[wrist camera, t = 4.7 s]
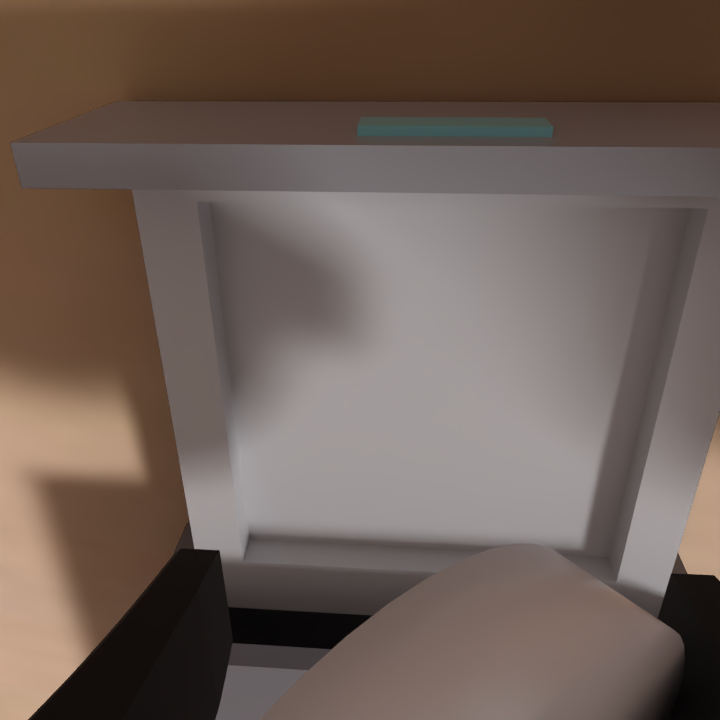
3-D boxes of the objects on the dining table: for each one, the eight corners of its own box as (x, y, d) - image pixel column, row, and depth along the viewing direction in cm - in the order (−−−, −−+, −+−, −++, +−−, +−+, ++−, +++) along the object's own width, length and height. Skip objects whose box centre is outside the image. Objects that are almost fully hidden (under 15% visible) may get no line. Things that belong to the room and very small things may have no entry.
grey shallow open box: (804, 94, 13) (954, 138, 9) (663, 578, 19) (719, 717, 16) (116, 93, 14) (7, 131, 10) (196, 552, 20) (146, 678, 17)
